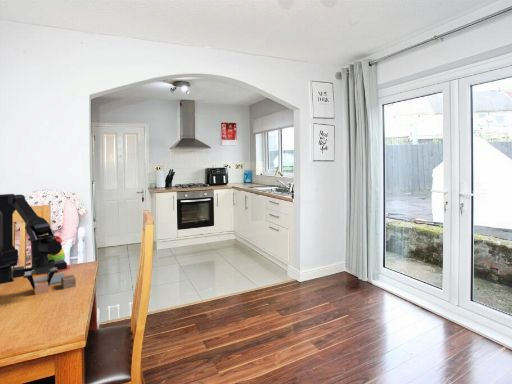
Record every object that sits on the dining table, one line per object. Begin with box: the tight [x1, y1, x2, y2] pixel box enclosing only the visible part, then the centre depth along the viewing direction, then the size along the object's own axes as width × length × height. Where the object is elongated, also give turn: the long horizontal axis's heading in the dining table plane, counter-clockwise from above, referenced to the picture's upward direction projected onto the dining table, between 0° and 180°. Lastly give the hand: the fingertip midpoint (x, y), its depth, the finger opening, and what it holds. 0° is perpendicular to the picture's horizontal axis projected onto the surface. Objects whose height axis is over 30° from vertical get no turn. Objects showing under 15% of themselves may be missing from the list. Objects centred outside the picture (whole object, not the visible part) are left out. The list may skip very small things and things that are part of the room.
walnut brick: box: [60, 274, 77, 290], centre depth 139 cm, size 6×4×4 cm
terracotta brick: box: [33, 279, 49, 296], centre depth 132 cm, size 6×4×4 cm
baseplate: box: [33, 272, 66, 286], centre depth 144 cm, size 12×12×1 cm
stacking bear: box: [48, 235, 71, 273], centre depth 158 cm, size 11×10×18 cm
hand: (40, 288), depth 132 cm, fingers closed on terracotta brick, 4 cm apart
